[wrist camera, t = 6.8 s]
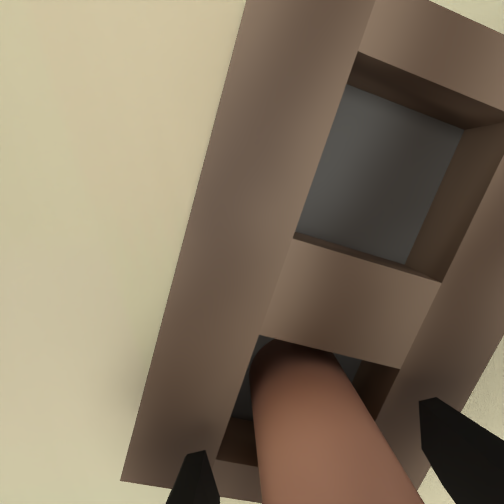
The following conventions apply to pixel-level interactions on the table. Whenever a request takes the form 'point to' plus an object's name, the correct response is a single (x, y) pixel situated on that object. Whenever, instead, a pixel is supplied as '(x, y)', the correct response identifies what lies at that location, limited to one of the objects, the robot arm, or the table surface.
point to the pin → (318, 433)
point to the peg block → (336, 229)
